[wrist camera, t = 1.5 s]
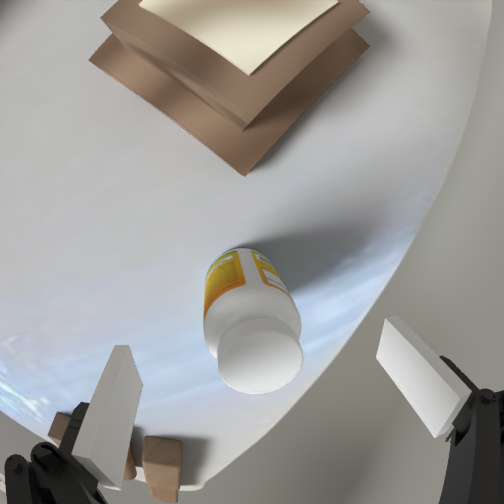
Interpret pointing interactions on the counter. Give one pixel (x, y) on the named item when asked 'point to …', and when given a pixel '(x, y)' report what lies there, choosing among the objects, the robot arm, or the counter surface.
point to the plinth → (213, 124)
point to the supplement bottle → (251, 323)
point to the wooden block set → (144, 461)
